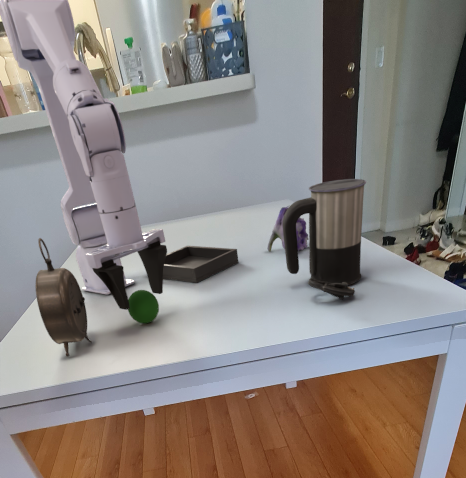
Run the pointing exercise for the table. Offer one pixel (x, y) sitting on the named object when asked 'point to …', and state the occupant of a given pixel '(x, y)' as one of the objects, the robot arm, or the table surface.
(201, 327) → the table surface
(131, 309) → the green ball
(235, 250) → the tray
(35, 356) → the table surface
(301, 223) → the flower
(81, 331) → the alarm clock
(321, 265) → the milk frother
